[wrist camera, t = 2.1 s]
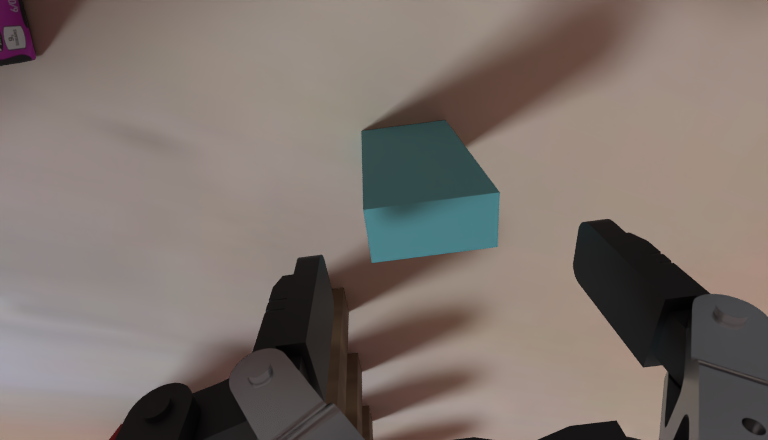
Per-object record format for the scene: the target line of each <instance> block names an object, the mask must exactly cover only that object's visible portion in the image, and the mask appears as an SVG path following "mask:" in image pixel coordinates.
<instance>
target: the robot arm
mask: <svg viewBox="0 0 768 440" xmlns="http://www.w3.org/2000/svg"><path fill="white" fill-rule="evenodd" d="M573 269H574V274H575V277H576V279H577V281H578V283H579V284H580V286H581V287H582V288H583V289H584V291H585V292H586V293H587V295H588V296H589V297H590V299H591V300H592V301H593V302H594V304H595V305H596V306H597V308H598V309H599V310H600V312H601V313H602V314H603V316H604V317H605V318H606V319H607V321H608V322H609V323H610V325H611V326H612V327H613V329H614V330H615V331H616V333H617V334H618V335H619V336H620V338H621V339H622V340H623V342H624V343H625V344H626V346H627V347H628V348H629V350H630V351H631V352H632V353H633V355H634V356H635V357H636V359H637V360H638V361H639V363H640V364H641V365H642V366H643V367H651V366H659V365H663V366H664V368H665V369H666V370H667V373H666V376H665V379H664V388H663V399H662V411H661V422H660V434H659V440H768V317H767V316H766V315H765V314H764V313H763V312H762V311H761V310H760V309H758V308H757V307H755V306H753V305H751V304H750V303H748V302H745V301H743V300H740V299H738V298H735V297H731V296H727V295H721V294H710V293H709V292H708V291H707V290H705V289H704V288H703V287H702V286H701V285H699V284H698V283H697V282H696V281H695V280H693V279H692V278H691V277H690V276H689V275H687V274H686V273H685V272H684V271H683V270H682V269H680V268H679V267H678V266H677V265H676V264H674V263H671V260H670V259H668V258H667V257H666V256H665V255H664V254H661V253H660V251H659V250H658V249H657V248H655V247H654V246H653V245H652V244H651V243H649V242H648V241H647V240H644V239H642V238H640V237H638V236H636V235H634V234H632V233H626V232H625V231H623V230H622V229H621V228H620V227H619V226H618V225H617V224H615V223H614V222H613V221H612V220H610V219H603V220H595V221H588V222H582V223H581V224H580V226H579V229H578V236H577V242H576V249H575V255H574V261H573ZM333 318H334V300H333V293H332V289H331V285H330V281H329V277H328V273H327V268H326V264H325V260H324V257H323V256H322V255H316V256H308V257H301V258H298V259H297V263H296V267H295V271H294V274H293V275H286V276H282V278H281V279H280V280H279V281H278V282H277V283H276V285H275V286H274V287H273V289H272V292H271V295H270V298H269V303H268V305H267V308H266V313H265V314H264V317H263V320H262V324H261V327H260V330H259V333H258V336H257V339H256V343H255V346H254V349H253V352H252V353H251V354H249V355H247V356H246V357H245V358H243V359H242V360H241V361H240V362H239V363H238V364H237V365H236V366H235V368H234V369H233V371H232V373H231V375H230V378H229V379H227V380H225V381H223V382H221V383H218V384H216V385H213V386H211V387H208V388H206V389H203V390H200V391H198V392H195V393H193V394H192V392H191V390H190V389H189V388H188V386H186V385H184V384H181V383H171V384H166V385H163V386H160V387H158V388H156V389H154V390H152V391H151V392H149V393H148V394H146V395H145V396H143V397H142V398H141V399H140V400H139V401H138V402H137V403H136V404H135V405H134V406H133V407H132V409H131V410H130V411H129V413H128V415H127V416H126V418H125V420H124V422H123V424H122V426H121V428H120V430H119V432H118V434H117V436H116V438H115V440H365V439H364V438H363V437H362V436H361V434H360V433H359V432H358V431H357V430H356V428H355V427H354V426H353V425H352V424H351V422H350V421H349V420H348V419H347V418H346V417H345V415H344V414H343V413H342V412H341V411H340V409H339V408H338V407H337V406H336V405H335V404H333V403H331V402H330V403H329V404H328V405H327V404H326V403H325V402H326V392H327V381H328V371H329V360H330V349H331V339H332V328H333ZM455 440H490V439H483V438H476V437H472V438H464V439H455ZM538 440H640V439H636V438H632V437H626V436H625V434H624V432H623V431H622V429H621V427H620V426H619V424H618V422H617V421H609V422H600V423H591V424H583V425H574V426H569V427H566V428H564V429H562V430H559V431H557V432H555V433H552V434H550V435H548V436H545V437H543V438H541V439H538Z"/></svg>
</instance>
